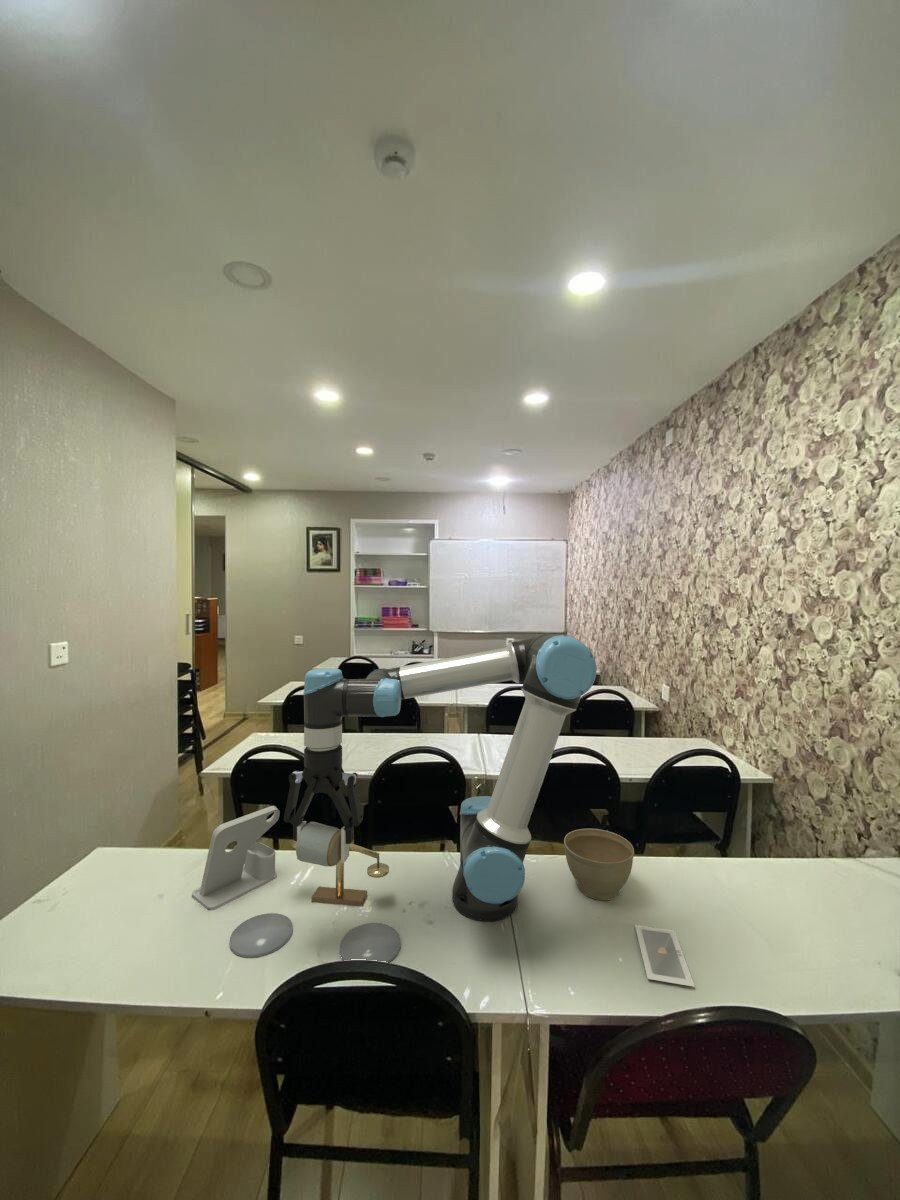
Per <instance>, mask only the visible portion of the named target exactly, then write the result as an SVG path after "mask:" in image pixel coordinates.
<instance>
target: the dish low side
mask: <svg viewBox="0 0 900 1200" xmlns="http://www.w3.org/2000/svg"><path fill="white" fill-rule="evenodd" d="M401 945H402V943H401V935H400V933H399V932H398V930H397V929H396V928H394V927H393V926H391V925H389V924H386V923H382V922H368V923H366V922H365V923H363V924H359V925H356V926H355V927H353V928H352V929H350V930H348V931H347V932H346V933H345V934H344V935H343V937H342V938H341V940H340V943H339V956H340V955H341V956H340V958H341V957H342V959H341V960H342V961H343V960H351V959H366V960H377V961H386V962H390V963H391V962H392V961H394V959H396V957H397V956H398V954H399V952H400V950H401Z"/></svg>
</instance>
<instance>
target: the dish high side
mask: <svg viewBox="0 0 900 1200" xmlns="http://www.w3.org/2000/svg"><path fill="white" fill-rule="evenodd" d="M293 926H294V925H293V922H292V920H291V919H290V918H289V917H288V916H287V915H285V914H282V913H273V912H271V913H270V912H268V913H263V914H258V915H255V916H253V917H250V918H248V919H246V920H244V921H243V922H241V923H240V924H239V925H237V926H236V927H235V928H234V929H233V931H232V932H231V934H230V936H229V948H230V951H231V952H232V953H233V954H234V955H236V956H237V957H240V958H246V959H255V958H260V957H261V958H262V957H264V956H268V955H270V954H272V953H275V952H276V951H278V950H280V949H281V948H282V947H284V946H285V945H286V944H287V943H288V941H289V940H290V938H291V937H292V936H293V935H292V934H293Z"/></svg>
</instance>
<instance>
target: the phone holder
mask: <svg viewBox="0 0 900 1200" xmlns="http://www.w3.org/2000/svg"><path fill="white" fill-rule="evenodd" d="M280 813H281V812H280V810H279V809H278V808H277V806H276V805H270V806H267V807H264V808H262V809H258V810H257V811H253V812H251V813H249V814H246V815H243V816H240V817H237V818H235V819H231V820H229V821H226V822H224V823H221V824H220V825H218V826H217V827H216V828H215V829H214V830H213V832H212V835H211V838H210V843H209V847H208V852H207V857H206V862H205V866H204V871H203V875H202V880H201V885H200V887H197V888H196V889H194V890H192V892H191V898H192V899H194V900H195V901H196V902H197V903H199V904H200V905H201V906H202V907H204V909H206V910H209V911H215V910H218V909H220V908H221V907H223V906H225V905H228V904H229V903H231V902H233V901H235V900H237V899H239V898H241V897H243V896H245V895H247V894H249V893H250V892H253V891H255V890H257V889H259V888H260V887H263V886H264V885H266V884H269V883H271V882H272V881H274V880H276V879H277V872H276V850H275V849H273V848H272V847H270V846H268V845H266V844H264V843H263V842H260V841H258V840H259V839H260V838H261V837H262V836H263V835H265V833H266V832H268V831H269V830H270V828H272V827H273V826H274V825H275V824H276V823H277V822H278V820H279V818H280ZM271 814H272V815H271ZM270 815H271V817H269V816H270ZM268 817H269V818H268ZM233 842H236V845H235V846H233V849H231V850H230V851H226V848H227V846H229V844H231V843H233Z"/></svg>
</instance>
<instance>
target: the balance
mask: <svg viewBox="0 0 900 1200" xmlns="http://www.w3.org/2000/svg"><path fill="white" fill-rule="evenodd" d="M296 846H297V841H294V840H292V842H291V848H292V849H293V850H295V851H296ZM349 850H351V851H354V852H357V853H360V854H363V855H366V856H367V857H368V856H369V857H372V858H373V859H376V863H372V864H370V865H369V866H368V867H367V869H366V874H367V875H368V876H369V877H371V878H374V879H375V878H376V879H378V878H384V877H385V876H387V875H388V874H389V873H390V867H389V865H388V864H386V863H382V862H380V852H377V851H374V850H371V849H368V848H366V847H363V846H360V845H359V844H358V845H357V844H354V843H351V844H349ZM310 898H311V903H320V904H328V905H341V906H351V907H353V906H354V907H363V905H364V904H365V901H366V900H367V898H368V890H367V889H365V890H363V889H352V888H345V863H343V862H341V860H340V861H339V862H338V863H337V864H336V865H335V887H329V886H318V887H317V888H316V889H315V891H314V892H313V894H312V895H311V897H310Z"/></svg>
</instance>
